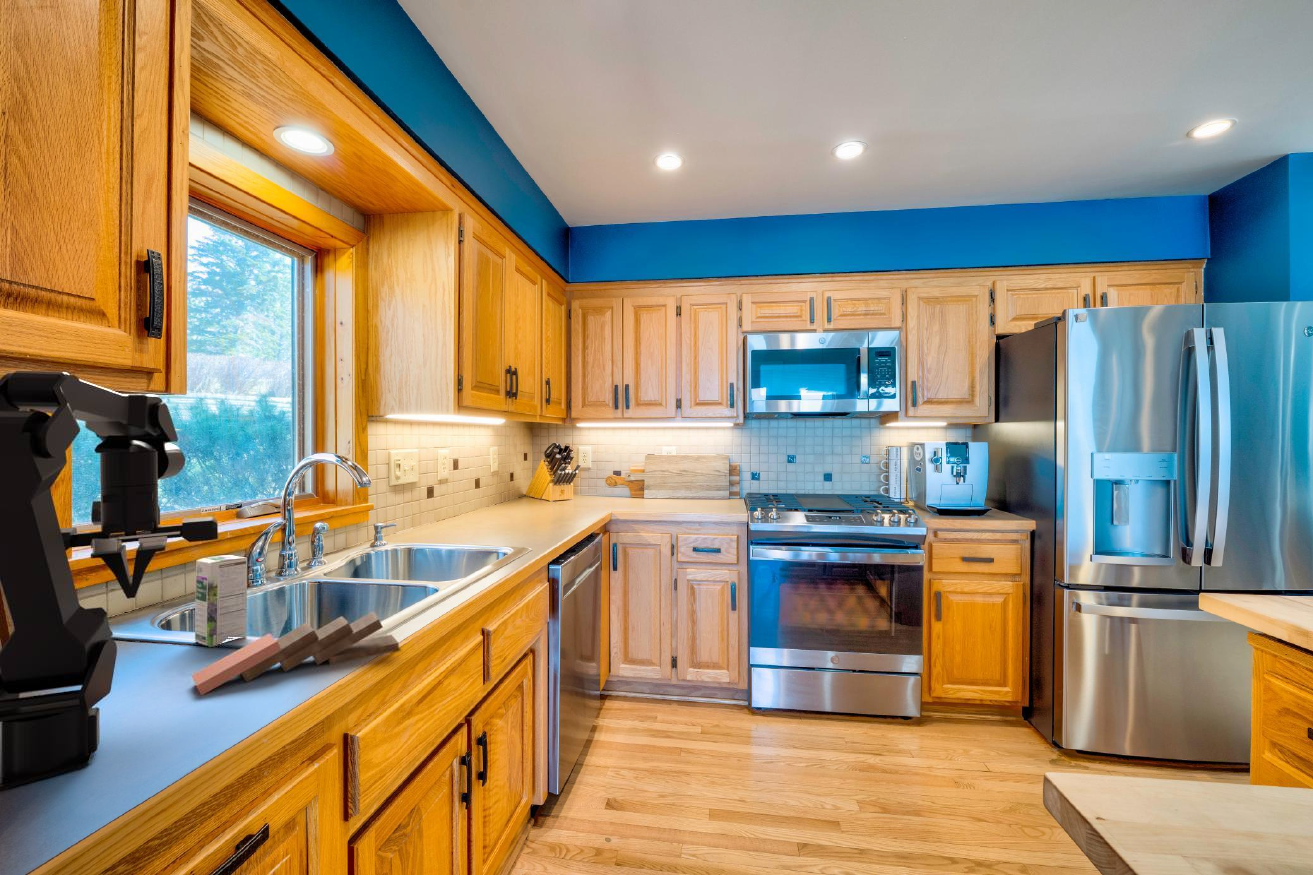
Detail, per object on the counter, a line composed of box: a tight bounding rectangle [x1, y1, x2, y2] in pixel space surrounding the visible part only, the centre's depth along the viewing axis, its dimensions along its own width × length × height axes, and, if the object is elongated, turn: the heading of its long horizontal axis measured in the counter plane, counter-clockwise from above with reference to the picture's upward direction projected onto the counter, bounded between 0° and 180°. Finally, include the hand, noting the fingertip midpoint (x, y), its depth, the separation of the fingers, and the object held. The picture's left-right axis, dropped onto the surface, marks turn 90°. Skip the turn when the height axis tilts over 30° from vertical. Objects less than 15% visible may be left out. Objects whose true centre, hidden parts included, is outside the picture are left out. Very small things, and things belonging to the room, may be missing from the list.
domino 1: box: [190, 633, 281, 696], centre depth 80 cm, size 2×5×10 cm
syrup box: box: [194, 554, 248, 648], centre depth 97 cm, size 6×6×14 cm
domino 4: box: [312, 610, 384, 666], centre depth 89 cm, size 2×5×10 cm
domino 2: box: [240, 622, 318, 683], centre depth 84 cm, size 2×5×10 cm
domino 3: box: [278, 616, 353, 673], centre depth 87 cm, size 2×5×10 cm
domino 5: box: [326, 634, 400, 666], centre depth 91 cm, size 2×5×10 cm
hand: (131, 597), depth 76 cm, fingers closed
